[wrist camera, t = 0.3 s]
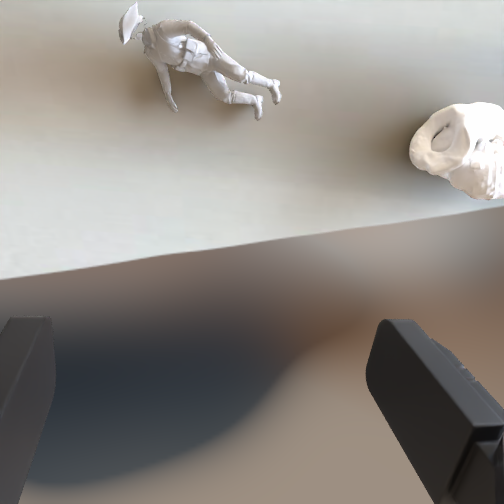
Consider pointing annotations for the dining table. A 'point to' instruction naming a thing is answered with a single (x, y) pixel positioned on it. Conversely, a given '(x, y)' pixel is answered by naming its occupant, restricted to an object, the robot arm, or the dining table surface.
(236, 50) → the dining table surface
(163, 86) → the soldier figure
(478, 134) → the white irregular lump
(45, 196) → the dining table surface
